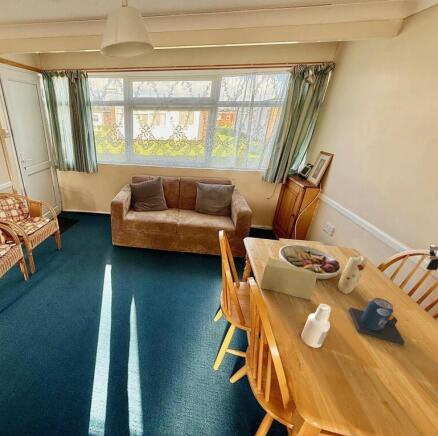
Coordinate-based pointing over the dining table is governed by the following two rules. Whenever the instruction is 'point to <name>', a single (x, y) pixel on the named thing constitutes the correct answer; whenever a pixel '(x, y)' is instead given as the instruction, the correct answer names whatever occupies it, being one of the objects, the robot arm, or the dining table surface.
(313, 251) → the bowl
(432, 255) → the robot arm
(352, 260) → the food model
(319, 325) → the white bottle
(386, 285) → the dining table surface
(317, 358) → the dining table surface
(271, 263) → the cheese
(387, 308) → the soda can
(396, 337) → the scale
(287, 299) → the dining table surface
